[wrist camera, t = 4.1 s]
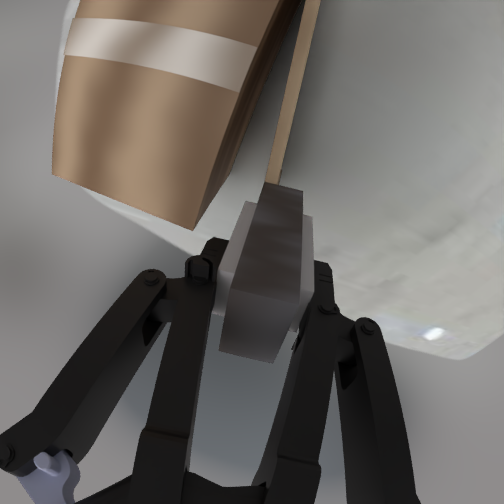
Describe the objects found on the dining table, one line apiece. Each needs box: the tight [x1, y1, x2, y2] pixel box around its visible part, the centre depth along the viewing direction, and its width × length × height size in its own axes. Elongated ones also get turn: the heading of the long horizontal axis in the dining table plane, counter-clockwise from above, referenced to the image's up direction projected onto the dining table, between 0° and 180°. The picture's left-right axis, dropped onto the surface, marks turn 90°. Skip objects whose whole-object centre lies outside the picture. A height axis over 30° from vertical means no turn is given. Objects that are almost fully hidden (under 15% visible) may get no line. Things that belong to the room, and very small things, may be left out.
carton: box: [52, 0, 302, 231], centre depth 18 cm, size 14×24×12 cm, turn 159°
